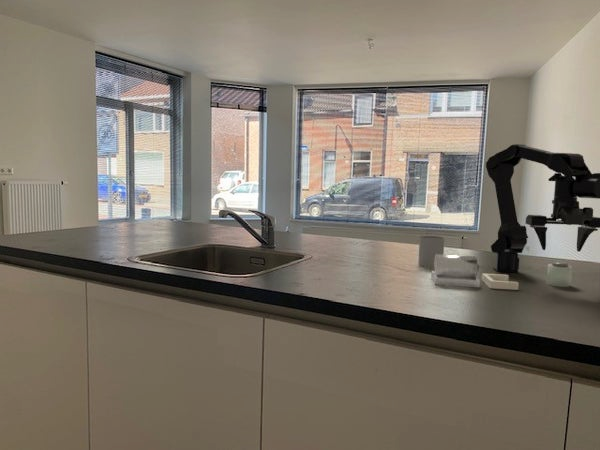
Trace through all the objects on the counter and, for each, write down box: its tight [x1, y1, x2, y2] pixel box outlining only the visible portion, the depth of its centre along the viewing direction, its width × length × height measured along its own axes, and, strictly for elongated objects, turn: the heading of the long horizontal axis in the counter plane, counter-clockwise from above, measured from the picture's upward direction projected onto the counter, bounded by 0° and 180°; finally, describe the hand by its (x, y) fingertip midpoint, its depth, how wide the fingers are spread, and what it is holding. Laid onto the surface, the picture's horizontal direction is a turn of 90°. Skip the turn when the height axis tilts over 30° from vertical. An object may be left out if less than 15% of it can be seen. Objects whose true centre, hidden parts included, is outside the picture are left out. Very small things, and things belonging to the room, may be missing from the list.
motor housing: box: [431, 254, 481, 288], centre depth 123 cm, size 12×10×8 cm
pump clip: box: [481, 273, 519, 291], centre depth 121 cm, size 7×10×2 cm
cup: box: [418, 235, 445, 268], centre depth 149 cm, size 8×8×10 cm
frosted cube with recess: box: [546, 261, 573, 288], centre depth 122 cm, size 6×6×6 cm
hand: (561, 250), depth 122 cm, fingers open, 9 cm apart
